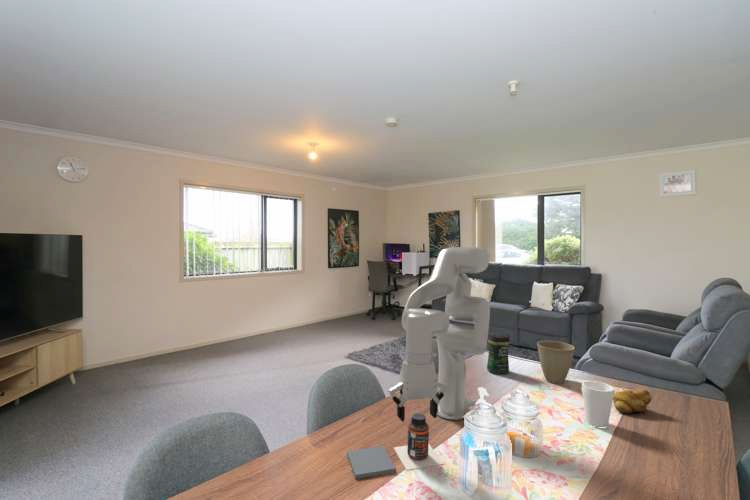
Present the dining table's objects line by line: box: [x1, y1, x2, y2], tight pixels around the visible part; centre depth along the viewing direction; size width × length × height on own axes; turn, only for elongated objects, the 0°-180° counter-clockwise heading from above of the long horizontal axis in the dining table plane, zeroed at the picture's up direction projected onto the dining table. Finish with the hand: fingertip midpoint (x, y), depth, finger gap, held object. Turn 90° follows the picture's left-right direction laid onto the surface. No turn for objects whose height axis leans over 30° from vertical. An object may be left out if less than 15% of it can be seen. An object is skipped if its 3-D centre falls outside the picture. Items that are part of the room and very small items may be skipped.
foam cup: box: [581, 380, 615, 428], centre depth 124 cm, size 10×9×13 cm
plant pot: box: [536, 340, 575, 385], centre depth 162 cm, size 15×15×16 cm
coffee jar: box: [486, 331, 511, 375], centre depth 173 cm, size 10×8×19 cm
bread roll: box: [612, 389, 652, 414], centre depth 135 cm, size 13×10×8 cm
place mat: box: [346, 445, 397, 479], centre depth 101 cm, size 11×11×1 cm
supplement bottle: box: [407, 412, 430, 460], centre depth 104 cm, size 6×6×11 cm
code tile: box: [393, 443, 445, 471], centre depth 104 cm, size 11×11×1 cm
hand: (417, 417), depth 103 cm, fingers open, 9 cm apart
